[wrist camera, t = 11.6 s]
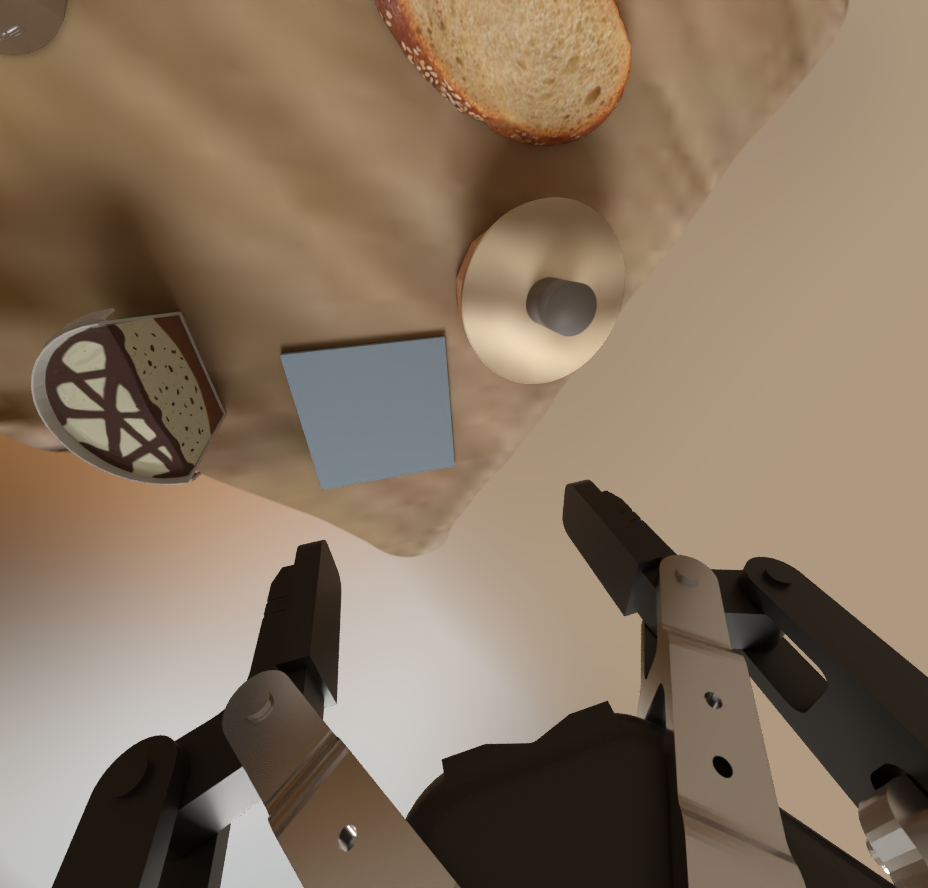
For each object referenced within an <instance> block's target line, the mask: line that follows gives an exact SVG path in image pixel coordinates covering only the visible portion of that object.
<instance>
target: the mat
mask: <svg viewBox="0 0 928 888" xmlns="http://www.w3.org/2000/svg"><path fill="white" fill-rule="evenodd" d="M280 357H281V360H282V363H283V367H284V370H285V373H286V376H287V380H288V383H289V386H290V389H291V392H292V396H293V399H294V402H295V405H296V408H297V412H298V415H299V418H300V421H301V424H302V428H303V431H304V434H305V437H306V440H307V444H308V447H309V450H310V453H311V457H312V460H313V463H314V466H315V469H316V473H317V476H318V479H319V482H320V485H321V489H322V490H323V489H328V488H334V487H340V486H345V485H351V484H357V483H362V482H368V481H374V480H379V479H385V478H391V477H396V476H402V475H407V474H413V473H419V472H424V471H430V470H436V469H441V468H447V467H453V466H455V464H454V451H453V438H452V425H451V411H450V398H449V385H448V372H447V358H446V345H445V337H444V336H436V337H427V338H418V339H409V340H400V341H390V342H381V343H372V344H363V345H354V346H345V347H335V348H326V349H317V350H308V351H299V352H290V353H281V354H280Z"/></svg>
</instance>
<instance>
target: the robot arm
mask: <svg viewBox="0 0 928 888" xmlns="http://www.w3.org/2000/svg"><path fill="white" fill-rule="evenodd" d="M65 6H66V0H0V54H7V55H17V54H26V53H31V52H33V51H35V50H38V49H40V48H42V47H44V46H45V45H46V44H47V43H48V42H49V41H50V40H51V39H53V38H54V37H55V36H56V34H57V32H58V30H59V28H60V26H61V23H62V21H63V18H64V12H65ZM563 525H564V528H565V531H566V532H567V534H568V536H569V537H570V539H571V540H572V542H573V543H574V545H575V546H576V547H577V549H578V550H579V552H580V553H581V555H582V556H583V557H584V559H585V560H586V562H587V563H588V565H589V566H590V568H591V569H592V570H593V572H594V573H595V575H596V576H597V578H598V579H599V580H600V582H601V583H602V585H603V586H604V588H605V589H606V591H607V592H608V593H609V595H610V596H611V598H612V599H613V601H614V602H615V603H616V605H617V606H618V608H619V609H620V611H621V612H622V613H623V615H624V616H627V615H630V614H634V613H637V612H638V614H639V615H640V617H641V618H642V619H643V620H642V624H641V689H640V696H639V702H638V710H637V717H635V716H632V715H627V714H620V713H614V712H613V710H612V708H611V706H610V704H609V702H608V701H606V702H603V703H600V704H597V705H595V706H592V707H589V708H586V709H583V710H580V711H577V712H575V713H572V714H569V715H568V716H567V717H565V718H564V719H563V720H562V721H561V722H559V723H558V724H557V725H555V726H554V727H553V728H552V729H551V730H549V731H548V732H547V733H545V734H544V735H543V736H542V737H541V738H539V739H538V740H537V741H535V742H533V743H521V744H484V745H481V746H479V747H476V748H473V749H470V750H467V751H465V752H462V753H459V754H456V755H453V756H450V757H448V758H445V759H442V764H443V770H444V773H443V774H441V775H440V776H439V777H438V778H436V779H435V780H434V781H433V782H432V783H431V784H430V785H429V786H428V787H427V788H426V789H425V790H424V792H423V793H422V794H421V796H420V797H419V798H418V799H417V800H416V802H415V804H414V805H413V807H412V809H411V810H410V812H409V813H408V815H407V817H406V819H404V817H403V816H402V815H401V813H400V812H399V811H398V810H397V808H396V807H395V806H394V805H393V804H392V802H391V801H390V800H389V799H388V797H387V796H386V795H385V794H384V793H383V791H382V790H381V789H380V787H379V786H378V785H377V784H376V782H375V781H374V780H373V779H372V777H371V776H370V775H369V774H368V773H367V771H366V770H365V769H364V768H363V766H362V765H361V764H360V763H359V761H357V759H356V758H355V756H354V755H353V754H352V753H351V752H350V750H349V749H348V748H347V747H346V745H345V744H344V743H343V742H342V741H341V740H340V739H339V738H338V737H336V736H335V734H333V732H332V731H331V730H330V728H329V727H328V726H327V725H326V723H325V722H324V721H323V712H324V708H326V707H330V706H333V705H336V704H337V684H338V658H339V633H340V610H341V582H340V576H339V573H338V570H337V567H336V565H335V562H334V560H333V557H332V554H331V552H330V550H329V547H328V544H327V542H326V541H325V540H321V541H317V542H312V543H308V544H303V545H300V546H298V548H297V552H296V558H295V563H294V565H291V566H287V567H283V568H282V569H281V570H280V572H279V573H278V575H277V576H276V578H275V579H274V581H273V582H272V584H271V587H270V592H269V596H268V600H267V602H268V603H267V604H266V608H265V612H264V618H263V620H262V625H261V628H260V633H259V637H258V641H257V645H256V649H255V653H254V657H253V662H252V666H251V670H250V674H249V677H248V679H247V681H246V682H245V683H244V684H243V685H242V686H240V687H239V688H238V690H237V691H236V692H235V693H234V694H233V696H232V697H231V699H230V700H229V702H228V704H227V706H226V708H225V709H224V710H223V711H222V712H221V713H219V714H218V715H217V716H215V717H214V718H212V719H211V720H209V721H207V722H206V723H204V724H202V725H201V726H199V727H197V728H196V729H194V730H192V731H191V732H189V733H188V734H186V735H184V736H183V737H181V738H179V739H178V740H176V741H173V740H172V739H171V738H169V737H167V736H162V735H160V736H153V737H149V738H147V739H145V740H142V741H140V742H138V743H137V744H135V745H133V746H132V747H131V748H129V749H128V750H126V751H125V752H124V753H123V754H122V755H120V757H118V758H117V759H116V760H115V762H113V763H112V764H111V766H110V767H109V768H108V769H107V770H106V771H105V773H104V774H103V775H102V777H101V778H100V780H99V781H98V783H97V785H96V786H95V788H94V790H93V792H92V794H91V796H90V799H89V801H88V803H87V806H86V808H85V810H84V813H83V815H82V818H81V820H80V822H79V825H78V827H77V829H76V832H75V834H74V836H73V839H72V841H71V843H70V846H69V848H68V850H67V853H66V855H65V858H64V860H63V862H62V865H61V867H60V870H59V872H58V874H57V877H56V879H55V881H54V884H53V886H52V888H220V884H221V878H222V872H223V866H224V861H225V855H226V849H227V843H228V837H229V831H230V825H231V822H233V821H234V820H235V819H237V818H238V817H239V816H241V815H242V814H243V813H245V812H246V811H247V810H249V809H250V808H251V807H253V806H254V805H256V804H257V803H258V802H260V801H261V800H262V801H263V803H264V805H265V807H266V809H267V811H268V814H269V817H268V821H269V824H270V826H271V828H272V830H273V832H274V834H275V836H276V838H277V840H278V842H279V844H280V845H281V847H282V849H283V851H284V853H285V854H286V856H287V858H288V860H289V862H290V863H291V865H292V867H293V869H294V871H295V872H296V874H297V876H298V878H299V880H300V881H301V883H302V885H303V887H304V888H928V677H927V676H925V675H924V674H923V673H922V672H921V671H919V670H918V669H917V668H916V667H915V666H913V665H912V664H911V663H910V662H909V661H907V660H906V659H905V658H904V657H903V656H901V655H900V654H899V653H898V652H896V651H895V650H894V649H893V648H892V647H890V646H889V645H888V644H887V643H885V642H884V641H883V640H882V639H881V638H879V637H878V636H877V635H876V634H875V633H873V632H872V631H871V630H870V629H868V628H867V627H866V626H865V625H864V624H862V623H861V622H860V621H859V620H857V619H856V618H855V617H854V616H853V615H851V614H850V613H849V612H848V611H847V610H845V609H844V608H843V607H842V606H841V605H839V604H838V603H837V602H836V601H834V600H833V599H832V598H831V597H829V596H828V595H827V594H826V593H825V592H823V591H822V590H821V589H820V588H819V587H817V586H816V585H815V584H814V583H812V582H811V581H810V580H809V579H808V578H806V577H805V576H804V575H803V574H802V573H800V572H799V571H798V570H796V569H795V568H793V567H792V566H790V565H788V564H786V563H784V562H781V561H779V560H776V559H773V558H767V557H755V558H752V559H750V560H749V561H747V563H746V565H745V567H744V569H743V570H715V569H710V568H709V567H707V566H706V565H705V564H703V563H702V562H700V561H698V560H696V559H694V558H691V557H688V556H683V555H677V554H676V553H674V551H673V550H671V548H670V547H669V546H668V545H667V544H666V543H664V541H662V539H661V538H660V537H659V536H658V535H657V534H656V533H655V532H654V531H653V530H652V529H651V528H650V527H649V526H648V525H647V524H646V523H645V522H644V521H643V520H642V521H641V519H640V517H639V516H638V515H637V514H636V513H635V512H632V509H631V508H630V507H629V506H628V505H627V504H626V503H625V502H624V501H623V500H622V499H621V498H619V497H617V496H615V495H614V494H612V493H610V492H608V491H603V492H601V491H600V490H599V489H598V488H597V487H596V486H595V484H594V483H593V482H591V481H590V480H584V481H579V482H575V483H571V484H567V485H566V488H565V496H564V506H563ZM784 634H786V635H787V636H788V637H789V638H790V639H791V640H792V641H793V642H794V643H795V644H796V645H797V646H798V647H799V648H800V649H801V650H802V651H803V652H804V653H805V654H806V655H807V656H808V657H809V658H810V659H811V660H812V661H813V662H814V663H815V664H816V665H817V666H818V667H819V668H820V670H821V671H822V672H823V674H824V675H825V677H826V680H827V681H826V680H825V679H824V678H823V677H822V676H821V675H820V674H819V673H818V672H817V671H816V670H815V669H814V668H813V667H812V666H811V665H810V664H809V663H808V662H807V661H806V660H805V659H804V658H803V657H802V656H801V655H800V654H799V653H798V651H797V650H796V649H795V648H793V646H792V645H790V643H789V642H788V641H787V640H786V639H784V637H783V636H784ZM749 676H750V677H751V678H752V680H753V681H754V682H755V683H756V684H757V686H758V687H759V688H760V689H761V690H762V692H763V693H764V694H765V695H766V697H767V698H768V699H769V700H770V701H771V703H772V704H773V705H774V706H775V708H776V709H777V710H778V711H779V713H780V714H781V715H782V716H783V717H784V719H785V720H786V721H787V722H788V723H789V725H790V726H791V727H792V728H793V729H794V731H795V732H796V733H797V734H798V736H799V737H800V738H801V739H802V741H803V742H804V743H805V744H806V745H807V747H808V748H809V749H810V750H811V752H812V753H813V754H814V755H815V756H816V758H817V759H818V760H819V761H820V762H821V764H822V765H823V766H824V767H825V769H826V770H827V771H828V772H829V773H830V775H831V776H832V777H833V778H834V780H835V781H836V782H837V783H838V784H839V786H840V787H841V788H842V789H843V790H844V792H845V793H846V794H847V795H848V797H849V798H850V799H851V800H852V801H853V803H854V804H855V805H856V806H857V808H858V813H859V820H860V823H861V826H862V829H863V831H864V833H865V835H866V837H867V839H866V845H867V848H868V850H869V852H870V854H871V856H872V857H873V859H874V860H875V861H876V863H877V864H878V865H879V866H880V867H881V868H882V869H883V870H885V871H886V872H887V873H889V874H890V877H891V879H892V881H893V883H894V885H893V884H891V883H890V882H889V881H887V880H886V879H884V878H883V877H881V876H880V875H878V874H877V873H875V872H874V871H872V870H871V869H870V868H868V867H867V866H865V865H864V864H862V863H861V862H859V861H858V860H856V859H855V858H853V857H852V856H850V855H849V854H847V853H846V852H845V851H843V850H842V849H840V848H839V847H837V846H836V845H834V844H833V843H831V842H830V841H828V840H827V839H825V838H824V837H823V836H821V835H820V834H818V833H817V832H815V831H814V830H812V829H811V828H809V827H808V826H806V825H805V824H803V823H802V822H800V821H799V820H797V819H796V818H795V817H793V816H791V815H790V814H788V813H787V812H786V811H784V810H783V809H781V808H780V807H778V802H777V798H776V793H775V789H774V784H773V780H772V776H771V771H770V767H769V762H768V758H767V753H766V748H765V744H764V740H763V735H762V731H761V726H760V722H759V717H758V713H757V708H756V704H755V699H754V695H753V690H752V686H751V682H750V677H749Z"/></svg>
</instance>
